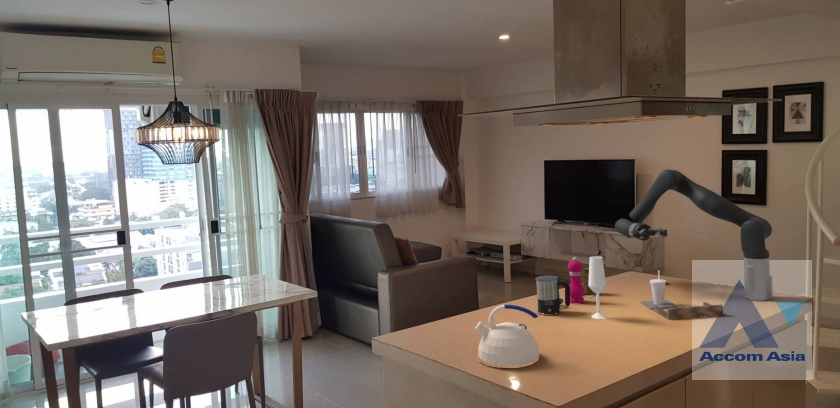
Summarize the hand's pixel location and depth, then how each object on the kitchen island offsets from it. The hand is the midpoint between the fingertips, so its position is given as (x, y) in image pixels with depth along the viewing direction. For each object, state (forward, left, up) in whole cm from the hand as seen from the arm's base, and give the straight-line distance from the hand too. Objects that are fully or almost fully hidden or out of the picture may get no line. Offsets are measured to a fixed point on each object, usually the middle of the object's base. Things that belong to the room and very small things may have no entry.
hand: (656, 235), depth 256 cm
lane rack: (-1, +25, -28) cm, 37 cm away
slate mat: (+4, +11, -28) cm, 30 cm away
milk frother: (+48, +5, -28) cm, 56 cm away
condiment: (+25, -16, -28) cm, 41 cm away
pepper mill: (+34, -4, -28) cm, 45 cm away
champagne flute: (+33, +22, -28) cm, 49 cm away
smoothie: (+4, +10, -27) cm, 30 cm away
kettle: (+76, +61, -28) cm, 101 cm away
